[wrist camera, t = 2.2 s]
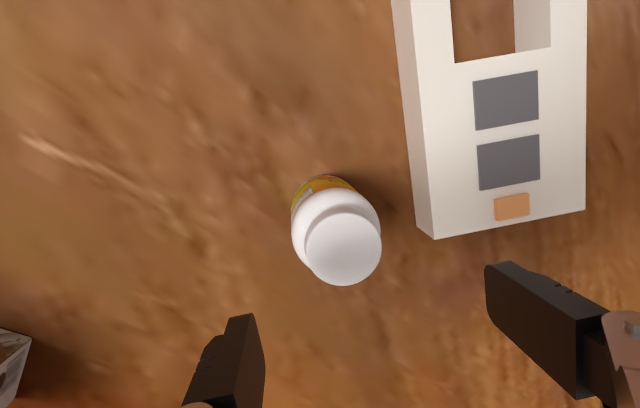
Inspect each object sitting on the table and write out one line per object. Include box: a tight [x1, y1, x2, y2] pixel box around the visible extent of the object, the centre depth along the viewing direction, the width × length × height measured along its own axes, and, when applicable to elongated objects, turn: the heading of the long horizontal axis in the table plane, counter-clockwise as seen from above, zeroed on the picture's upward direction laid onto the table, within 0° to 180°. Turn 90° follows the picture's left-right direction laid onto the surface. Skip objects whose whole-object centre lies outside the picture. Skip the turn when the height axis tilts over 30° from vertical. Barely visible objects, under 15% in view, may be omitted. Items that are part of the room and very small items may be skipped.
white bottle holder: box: [391, 0, 587, 240], centre depth 24 cm, size 20×12×4 cm, turn 10°
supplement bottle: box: [291, 175, 382, 286], centre depth 22 cm, size 5×5×10 cm
